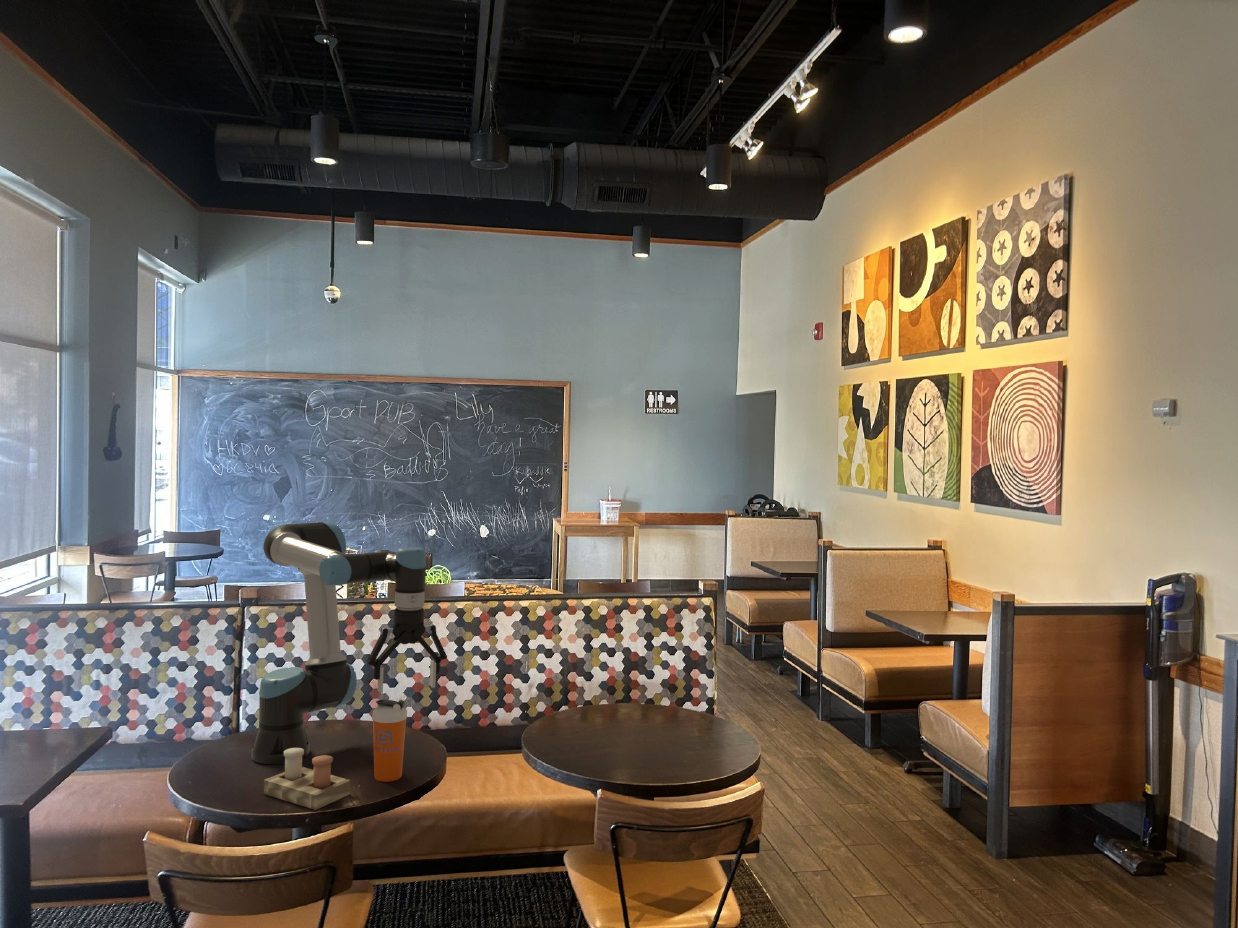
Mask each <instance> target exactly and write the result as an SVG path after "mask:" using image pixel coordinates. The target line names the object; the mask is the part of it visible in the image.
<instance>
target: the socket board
mask: <svg viewBox="0 0 1238 928" xmlns="http://www.w3.org/2000/svg"><path fill="white" fill-rule="evenodd" d="M313 775H314V769H311V768H307V767H305V766H302V778H299V779H297V780H294V781H290V780H286V779H285V771H283V772H280V773H278V774H275V775H273V776H270V777H268V778H265V779H263V795H266V796H270V797H273V798H277V799H278V800H283V801H285V802H289V803H292V804H296V805H298V806H302V807H306V808H308V809H312V810H314V811H317V810H319V809H321V808H323V807H325V806H328V805H329V804H331V803H334V802H337V801H339V800H341V799H343V798H346V796H349V795H351V779H347V778H343V777H341V776H340V777H339V776H337V775H333V774H331V780H330V786H329V787H327V788H324V789H317V788H313Z"/></svg>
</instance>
